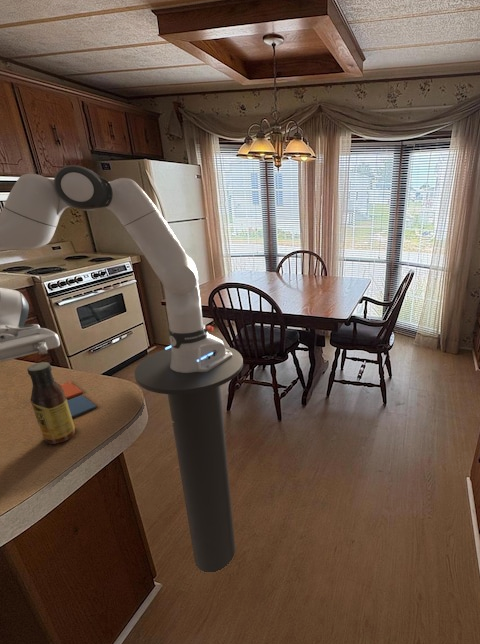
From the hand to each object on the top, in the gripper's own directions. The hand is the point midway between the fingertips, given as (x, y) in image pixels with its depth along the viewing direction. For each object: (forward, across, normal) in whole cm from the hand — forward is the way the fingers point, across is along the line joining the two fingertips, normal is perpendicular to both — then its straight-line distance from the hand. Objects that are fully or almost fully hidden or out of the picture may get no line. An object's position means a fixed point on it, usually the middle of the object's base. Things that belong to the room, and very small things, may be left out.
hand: (20, 357), depth 83 cm
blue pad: (+1, +7, +18) cm, 19 cm away
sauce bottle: (+12, 0, +18) cm, 22 cm away
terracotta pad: (-10, +8, +18) cm, 22 cm away
